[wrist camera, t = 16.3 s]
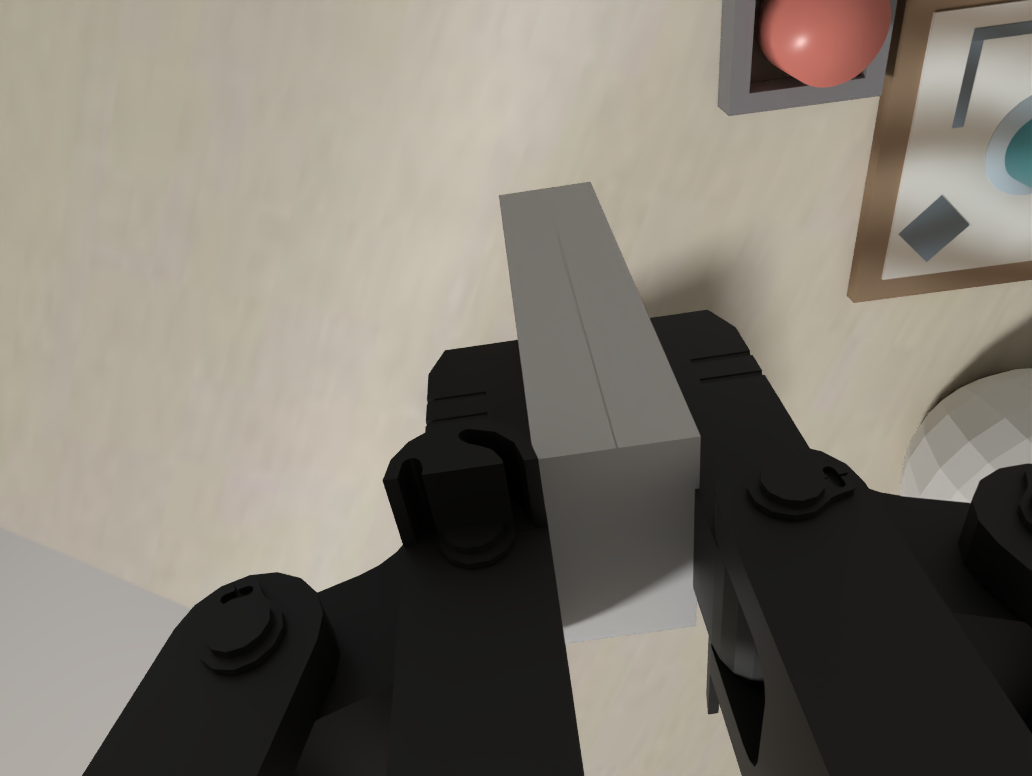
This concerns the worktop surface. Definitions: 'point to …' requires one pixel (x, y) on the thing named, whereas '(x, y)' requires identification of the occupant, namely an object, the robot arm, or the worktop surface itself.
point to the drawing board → (948, 153)
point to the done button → (823, 37)
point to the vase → (970, 438)
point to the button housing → (785, 92)
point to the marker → (1020, 155)
